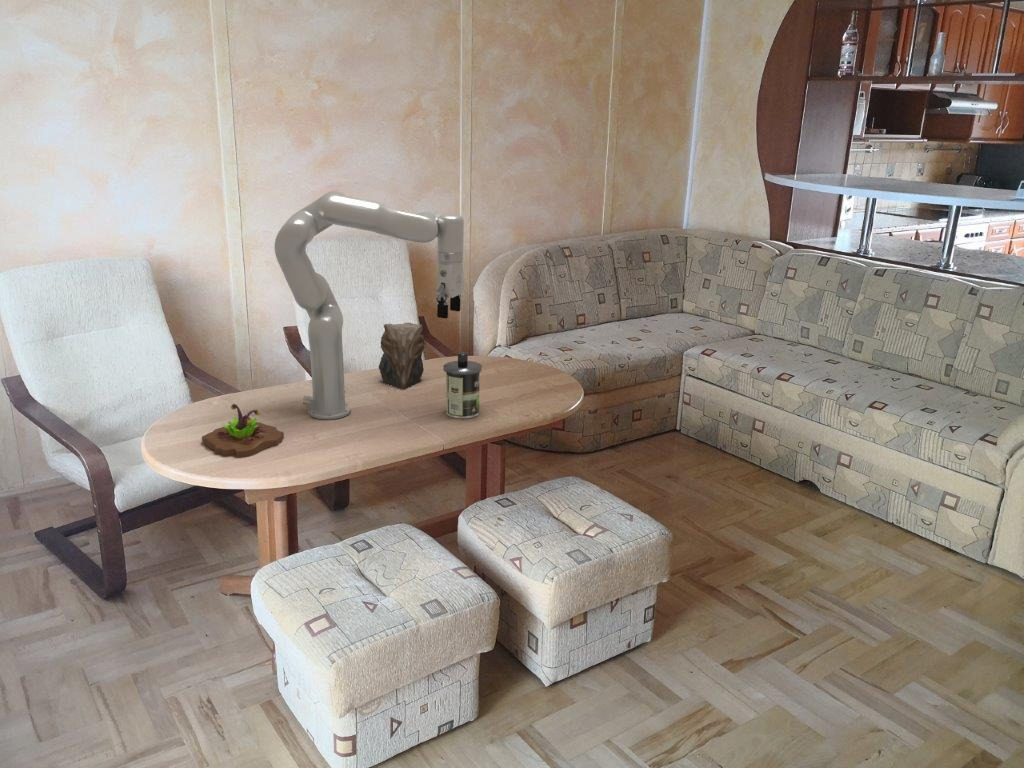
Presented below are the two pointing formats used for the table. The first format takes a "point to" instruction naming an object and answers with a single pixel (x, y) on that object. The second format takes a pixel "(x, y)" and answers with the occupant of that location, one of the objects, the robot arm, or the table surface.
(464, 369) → the lid
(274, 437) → the plant
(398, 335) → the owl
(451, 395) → the coffee can
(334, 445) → the table surface
